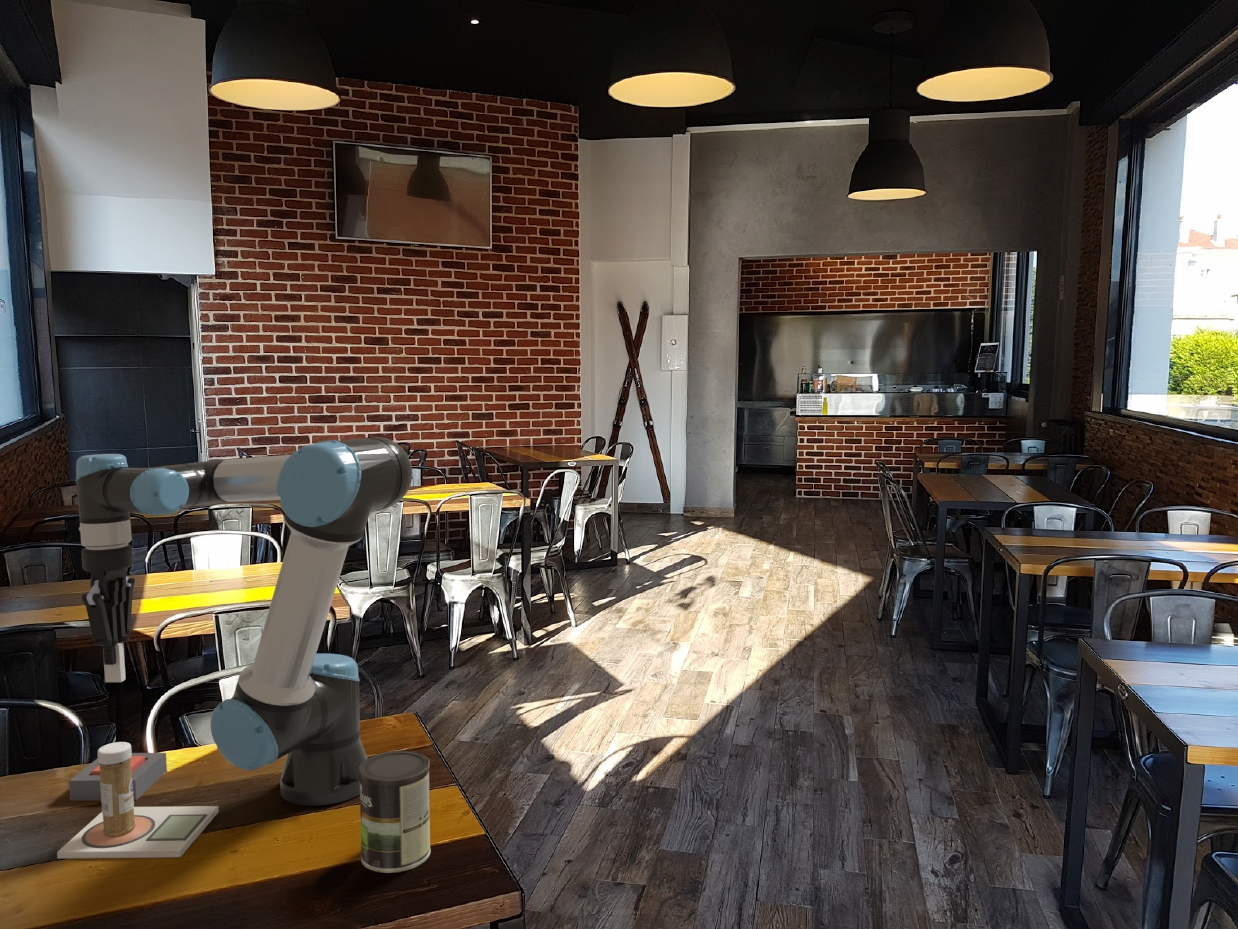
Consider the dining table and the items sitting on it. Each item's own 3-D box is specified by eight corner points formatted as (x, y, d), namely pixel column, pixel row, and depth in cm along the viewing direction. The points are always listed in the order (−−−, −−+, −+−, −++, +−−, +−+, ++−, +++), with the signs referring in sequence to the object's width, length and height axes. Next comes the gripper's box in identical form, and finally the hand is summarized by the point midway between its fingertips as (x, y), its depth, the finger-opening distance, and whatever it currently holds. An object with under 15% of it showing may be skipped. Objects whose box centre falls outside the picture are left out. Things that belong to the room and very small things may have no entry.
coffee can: (365, 880, 131) (362, 785, 129) (357, 845, 140) (354, 756, 139) (437, 865, 135) (435, 773, 133) (425, 832, 144) (423, 746, 143)
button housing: (166, 771, 166) (165, 752, 165) (136, 800, 155) (135, 780, 154) (105, 772, 165) (103, 753, 165) (70, 800, 154) (69, 780, 154)
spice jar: (137, 832, 142) (132, 748, 140) (103, 840, 139) (98, 755, 138) (134, 820, 146) (129, 738, 144) (101, 828, 143) (96, 745, 142)
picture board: (218, 812, 151) (218, 805, 151) (180, 857, 137) (179, 850, 137) (107, 813, 150) (107, 806, 150) (57, 858, 136) (57, 851, 136)
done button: (145, 772, 163) (144, 756, 163) (128, 787, 157) (127, 770, 157) (111, 772, 163) (110, 756, 163) (93, 788, 157) (92, 771, 157)
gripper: (104, 538, 162) (113, 669, 164) (62, 553, 149) (71, 694, 151) (147, 538, 162) (155, 668, 165) (108, 552, 149) (117, 693, 152)
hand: (115, 680), depth 158 cm, fingers closed
